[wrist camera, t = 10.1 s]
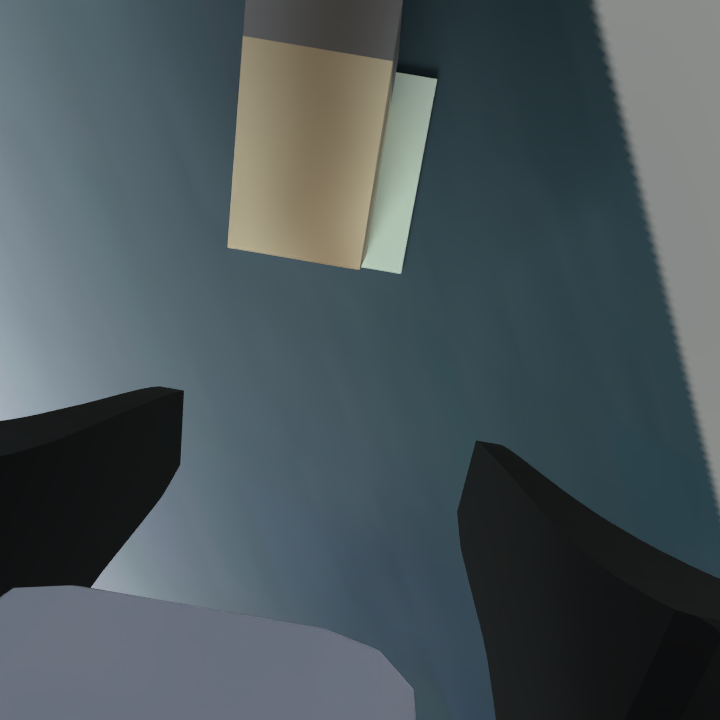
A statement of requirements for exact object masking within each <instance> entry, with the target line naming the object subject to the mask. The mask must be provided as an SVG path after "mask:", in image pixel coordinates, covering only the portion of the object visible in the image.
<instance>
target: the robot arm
mask: <svg viewBox="0 0 720 720" xmlns="http://www.w3.org/2000/svg"><path fill="white" fill-rule="evenodd" d="M183 397H184V391H183V390H177V389H171V388H165V387H150V388H144V389H140V390H135V391H131V392H127V393H123V394H119V395H116V396H112V397H108V398H104V399H100V400H96V401H93V402H89V403H85V404H81V405H77V406H72V407H68V408H64V409H59V410H55V411H51V412H46V413H42V414H38V415H33V416H28V417H22V418H17V419H11V420H5V421H0V720H416V713H415V702H414V691H413V688H412V687H411V686H410V685H409V684H408V683H407V682H406V680H405V679H404V678H403V677H402V676H401V675H400V674H399V672H398V671H397V670H396V669H395V668H394V667H393V666H392V665H391V663H390V662H389V661H388V660H387V659H386V658H385V657H384V655H383V654H382V653H381V652H380V651H379V650H377V649H375V648H373V647H370V646H368V645H365V644H363V643H360V642H358V641H355V640H353V639H350V638H348V637H345V636H342V635H340V634H337V633H335V632H332V631H330V630H327V629H325V628H320V627H314V626H308V625H302V624H297V623H291V622H285V621H279V620H273V619H268V618H262V617H256V616H250V615H244V614H239V613H233V612H227V611H221V610H215V609H209V608H204V607H198V606H192V605H186V604H180V603H175V602H169V601H163V600H157V599H151V598H146V597H140V596H134V595H128V594H122V593H116V592H111V591H105V590H99V589H93V588H91V586H92V585H93V584H94V582H95V581H96V579H97V578H98V577H99V575H100V574H101V573H102V571H103V570H104V569H105V567H106V566H107V565H108V564H109V562H110V561H111V560H112V559H113V557H114V556H115V555H116V554H117V552H118V551H119V550H120V549H121V548H122V546H123V545H124V544H125V543H126V541H127V540H128V539H129V538H130V536H131V535H132V534H133V533H134V531H135V530H136V529H137V528H138V526H139V525H140V524H141V523H142V521H143V520H144V519H145V517H146V516H147V515H148V514H149V512H150V511H151V510H152V509H153V507H154V506H155V505H156V503H157V502H158V501H159V500H160V498H161V497H162V495H163V494H164V492H165V490H166V489H167V487H168V485H169V484H170V482H171V480H172V478H173V476H174V475H175V473H176V471H177V469H178V467H179V466H180V457H181V437H182V417H183ZM457 514H458V526H459V536H460V544H461V551H462V555H463V559H464V563H465V567H466V572H467V576H468V580H469V584H470V587H471V591H472V595H473V599H474V603H475V607H476V611H477V615H478V619H479V623H480V627H481V631H482V635H483V639H484V644H485V649H486V654H487V659H488V666H489V673H490V680H491V687H492V694H493V700H494V708H495V716H496V720H720V579H719V578H716V577H714V576H712V575H710V574H708V573H705V572H703V571H701V570H699V569H696V568H694V567H692V566H690V565H688V564H686V563H684V562H682V561H680V560H678V559H676V558H674V557H672V556H670V555H668V554H666V553H664V552H662V551H660V550H658V549H656V548H654V547H652V546H650V545H649V544H647V543H645V542H643V541H641V540H639V539H638V538H636V537H634V536H633V535H631V534H629V533H627V532H626V531H624V530H622V529H621V528H619V527H617V526H616V525H614V524H612V523H610V522H609V521H607V520H606V519H604V518H602V517H601V516H599V515H598V514H596V513H595V512H593V511H592V510H590V509H589V508H587V507H586V506H585V505H583V504H582V503H580V502H579V501H577V500H576V499H574V498H573V497H572V496H570V495H569V494H567V493H566V492H565V491H563V490H562V489H561V488H559V487H558V486H557V485H555V484H554V483H553V482H551V481H550V480H549V479H547V478H546V477H545V476H543V475H542V474H541V473H540V472H538V471H537V470H536V469H534V468H533V467H532V466H531V465H529V464H528V463H527V462H525V461H524V460H523V459H522V458H520V457H519V456H518V455H516V454H515V453H513V452H512V451H511V450H509V449H507V448H506V447H504V446H502V445H499V444H493V443H487V442H481V441H476V443H475V447H474V451H473V454H472V458H471V462H470V466H469V470H468V473H467V477H466V481H465V485H464V489H463V492H462V496H461V500H460V504H459V507H458V511H457Z"/></svg>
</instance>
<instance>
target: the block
mask: <svg viewBox="0 0 720 720" xmlns="http://www.w3.org/2000/svg"><path fill="white" fill-rule="evenodd" d="M402 7H403V0H246V1H245V15H244V29H243V42H242V56H241V70H240V83H239V97H238V111H237V124H236V138H235V152H234V165H233V179H232V193H231V206H230V220H229V234H228V248H233V249H239V250H245V251H251V252H257V253H263V254H269V255H275V256H280V257H286V258H292V259H298V260H304V261H310V262H316V263H322V264H328V265H333V266H339V267H345V268H351V269H357V270H360V268H361V266H362V264H363V262H364V259H365V257H366V255H367V248H368V242H369V236H370V230H371V224H372V218H373V211H374V205H375V199H376V193H377V187H378V181H379V174H380V168H381V162H382V156H383V150H384V144H385V138H386V131H387V125H388V119H389V113H390V107H391V101H392V94H393V88H394V82H395V76H396V70H397V64H398V57H399V45H400V33H401V20H402Z"/></svg>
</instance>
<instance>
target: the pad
mask: <svg viewBox="0 0 720 720" xmlns="http://www.w3.org/2000/svg"><path fill="white" fill-rule="evenodd" d="M436 83H437V79H433V78H427V77H422V76H416V75H410V74H404V73H398V72H396V76H395V82H394V88H393V94H392V101H391V107H390V113H389V119H388V125H387V131H386V138H385V144H384V150H383V156H382V162H381V168H380V174H379V181H378V187H377V193H376V199H375V205H374V211H373V218H372V224H371V230H370V236H369V242H368V248H367V255H366V257H365V259H364V262H363V264H362V266H361V267H364V268H369V269H375V270H381V271H387V272H393V273H399V274H401V271H402V265H403V260H404V254H405V249H406V244H407V238H408V233H409V228H410V222H411V217H412V212H413V206H414V201H415V196H416V190H417V185H418V179H419V174H420V169H421V163H422V158H423V153H424V147H425V142H426V137H427V131H428V126H429V121H430V115H431V110H432V104H433V99H434V94H435V88H436Z"/></svg>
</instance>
